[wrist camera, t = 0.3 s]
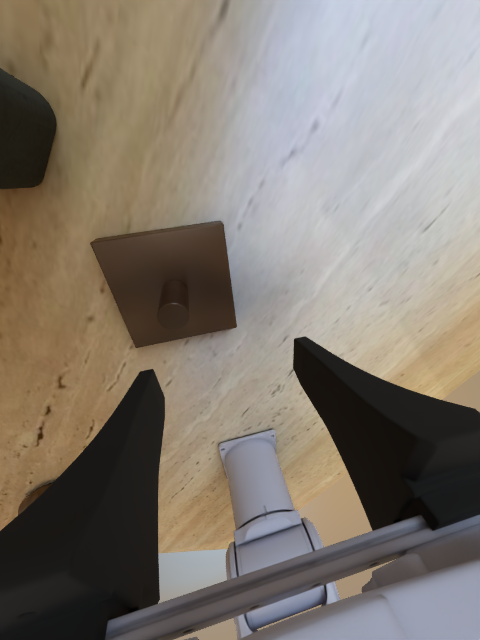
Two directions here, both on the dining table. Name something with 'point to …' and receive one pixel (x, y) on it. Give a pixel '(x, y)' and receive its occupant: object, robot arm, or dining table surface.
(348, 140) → the dining table surface
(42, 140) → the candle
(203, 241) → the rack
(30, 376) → the dining table surface
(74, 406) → the dining table surface
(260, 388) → the dining table surface
